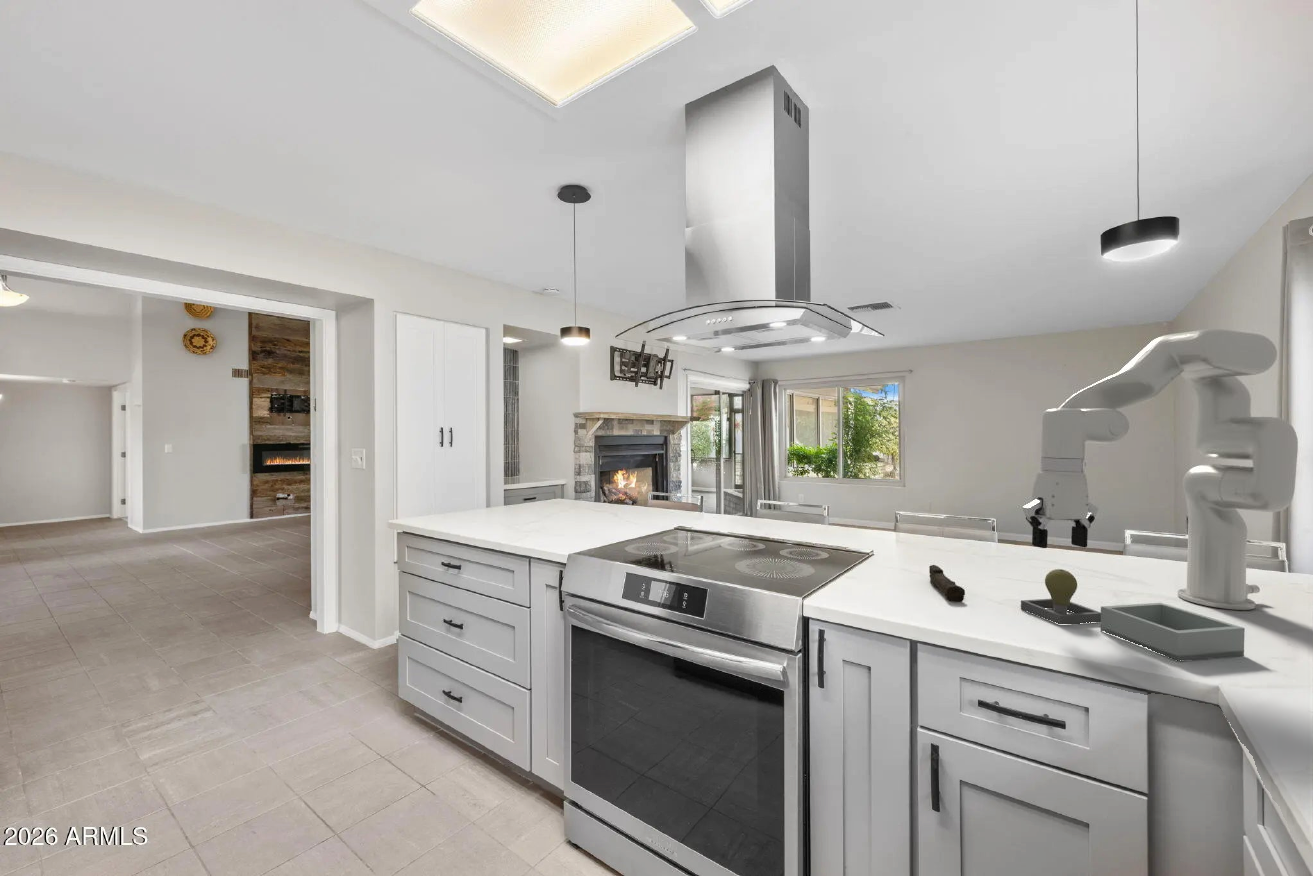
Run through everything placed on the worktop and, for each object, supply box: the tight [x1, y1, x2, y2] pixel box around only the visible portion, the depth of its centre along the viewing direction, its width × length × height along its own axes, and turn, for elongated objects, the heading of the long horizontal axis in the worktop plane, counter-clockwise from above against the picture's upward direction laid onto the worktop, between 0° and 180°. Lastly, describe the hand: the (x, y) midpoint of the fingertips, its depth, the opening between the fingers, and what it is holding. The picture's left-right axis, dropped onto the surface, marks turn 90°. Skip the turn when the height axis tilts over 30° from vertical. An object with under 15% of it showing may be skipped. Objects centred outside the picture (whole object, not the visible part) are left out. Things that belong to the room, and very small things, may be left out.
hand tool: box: [928, 564, 966, 603], centre depth 136 cm, size 19×4×5 cm, turn 167°
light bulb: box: [1044, 568, 1078, 614], centre depth 118 cm, size 6×6×10 cm
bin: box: [1100, 602, 1245, 662], centre depth 103 cm, size 14×14×5 cm
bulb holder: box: [1020, 598, 1101, 625], centre depth 118 cm, size 10×10×2 cm
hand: (1059, 546), depth 117 cm, fingers open, 9 cm apart
